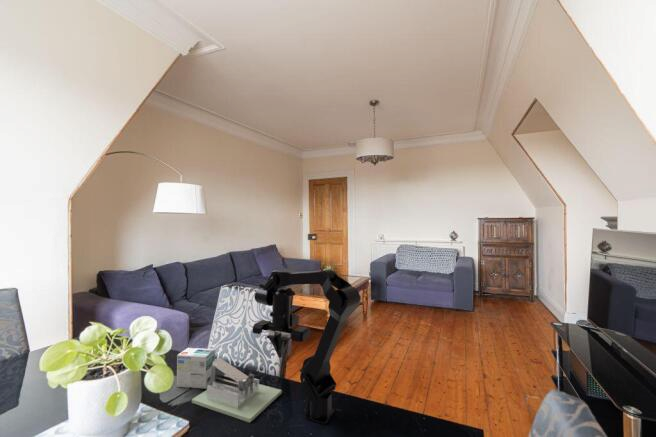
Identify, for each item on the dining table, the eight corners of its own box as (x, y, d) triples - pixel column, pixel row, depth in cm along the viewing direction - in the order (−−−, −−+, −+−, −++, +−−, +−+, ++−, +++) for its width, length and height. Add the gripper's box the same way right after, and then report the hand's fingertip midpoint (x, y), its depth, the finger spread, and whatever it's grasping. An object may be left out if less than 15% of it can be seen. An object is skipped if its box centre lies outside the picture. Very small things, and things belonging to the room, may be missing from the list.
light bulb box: (215, 379, 105) (216, 348, 105) (206, 389, 98) (206, 356, 99) (186, 377, 106) (187, 346, 106) (175, 387, 99) (176, 354, 100)
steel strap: (251, 383, 92) (252, 378, 92) (244, 388, 90) (246, 383, 90) (218, 361, 98) (220, 356, 98) (211, 365, 95) (213, 360, 95)
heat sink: (258, 391, 95) (259, 366, 96) (237, 409, 86) (238, 380, 86) (226, 382, 101) (226, 358, 101) (203, 398, 92) (203, 371, 92)
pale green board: (281, 393, 97) (281, 390, 97) (249, 422, 82) (250, 418, 82) (228, 378, 105) (228, 375, 105) (191, 402, 91) (191, 399, 91)
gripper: (318, 305, 100) (317, 352, 100) (271, 299, 108) (270, 343, 107) (302, 314, 90) (301, 367, 89) (251, 307, 97) (251, 355, 97)
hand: (280, 357), depth 96 cm, fingers closed
